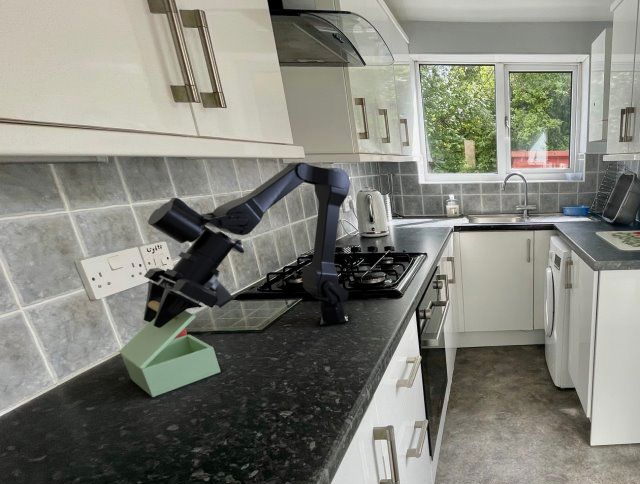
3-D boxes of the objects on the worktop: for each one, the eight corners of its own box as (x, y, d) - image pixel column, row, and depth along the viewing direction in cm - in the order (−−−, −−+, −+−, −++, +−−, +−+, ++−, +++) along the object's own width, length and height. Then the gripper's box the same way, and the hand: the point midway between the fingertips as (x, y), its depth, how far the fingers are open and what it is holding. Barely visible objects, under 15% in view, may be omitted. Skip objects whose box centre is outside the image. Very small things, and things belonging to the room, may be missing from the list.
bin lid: (172, 305, 84) (151, 291, 81) (196, 316, 78) (174, 302, 75) (122, 353, 79) (97, 340, 76) (143, 369, 73) (117, 356, 70)
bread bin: (197, 357, 90) (189, 334, 88) (220, 372, 84) (213, 347, 82) (131, 379, 81) (121, 354, 79) (152, 397, 75) (141, 370, 73)
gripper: (262, 286, 84) (214, 353, 79) (220, 273, 94) (176, 332, 89) (209, 254, 75) (151, 327, 70) (169, 243, 85) (116, 306, 80)
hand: (151, 324), depth 78 cm, fingers closed on bin lid, 5 cm apart
